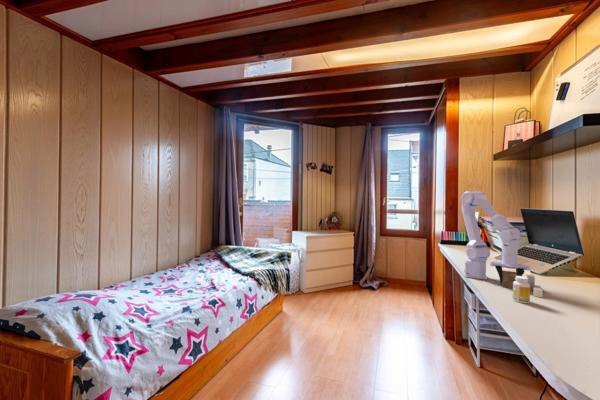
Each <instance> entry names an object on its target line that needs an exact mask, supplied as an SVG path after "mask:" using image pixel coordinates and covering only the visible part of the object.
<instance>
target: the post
mask: <svg viewBox="0 0 600 400" xmlns="http://www.w3.org/2000/svg"><path fill="white" fill-rule="evenodd" d="M525 277H527V278H528V282H527V283H529V284H530V292H533V287H535V288H541V289H542V290H543V294H544V293H545V291H544V289H543V288H542V287H541V285H539V284H538V285H537V284H535V283H536V281H535V280H536V277H535V275H533V274H526V275H525Z"/></svg>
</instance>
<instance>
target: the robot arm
mask: <svg viewBox="0 0 600 400" xmlns="http://www.w3.org/2000/svg"><path fill="white" fill-rule="evenodd" d="M460 201H461V207H460V208H461V213H462V217H463V220H464V221H463V222H464V226H465V229H466V233H467V237H468V242H467V244H466V246H465V247H466V252H465V254H466V257H468V258H465V263H464V264H465V265H464V266H465V267H464V271H463V272H464V277H465V278H471V279H480V280H485V281H487V280H488V277H487V260H488V258H489V257H490V255H491V252H490V249H489V248H488V246H487V243H486V242H485V241H483V240H482V237H481V232H480V228H479V223H478V220H477V217H476V213H475V210H476V209H477V208H478V207H480V208H481V209H482V210H483V211H484V213H486V214H487V216H488V217H489V218H490V222H491V224H492V225H493V226H494V228H495V229H496V230H497V231H498V232H499V234H498V235H499V238H500V240H501V244H502V245H501V247H502V248H501V250H502V251H501V261H492V260H491V261H490V267H495V269H496V271H497V274H498V277H499V282H500V284H501V283H502V271H504V270H503V268H506V269H515V272H516V274H517V276H524V274H525V271H529V272H530V271H531V266H530V265H529V264H521V263H518V253H519V252H518V251H519V240H520V239H521V237H522V232H521V231H520V229H519V228H517V227H514V226H513V225H512V224H511V223H510V222H509V221H508V219H507V217H506V216H505V215H503V214H499V213H498V212H497V211H496V209H495V208H494V206H493V205H492V204H491V202H490V201H489V200H488V196H487V195H486V194H485V193H484V192H483V191H480V190H479V191H468V190H467V191H465V192H463V194H462V195H461V196H460Z"/></svg>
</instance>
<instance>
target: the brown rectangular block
mask: <svg viewBox="0 0 600 400" xmlns="http://www.w3.org/2000/svg"><path fill="white" fill-rule="evenodd" d="M516 276H517V274H516V271H509V270H503V271H502V283H500V285H501V287H502V288H506V289H512V290H513V282H514V281H516Z"/></svg>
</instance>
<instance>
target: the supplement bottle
mask: <svg viewBox="0 0 600 400" xmlns="http://www.w3.org/2000/svg"><path fill="white" fill-rule="evenodd" d="M527 282H528V278H527V277H526V276H524V275H522V276H516V281H514V282H513V289H512V300H513V301H514V302H516V303H521V304H529V303H530V301H531V300H530V299H531V291H530V284H529V283H527Z"/></svg>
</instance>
